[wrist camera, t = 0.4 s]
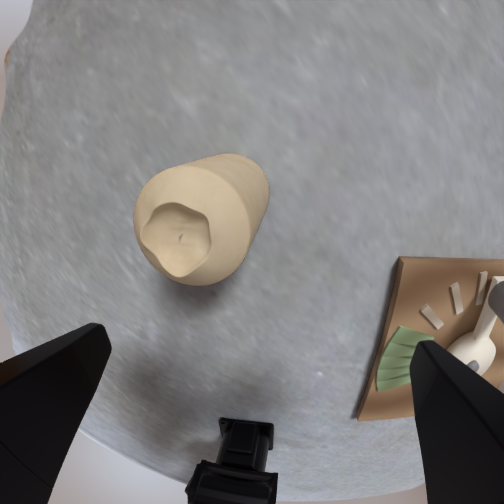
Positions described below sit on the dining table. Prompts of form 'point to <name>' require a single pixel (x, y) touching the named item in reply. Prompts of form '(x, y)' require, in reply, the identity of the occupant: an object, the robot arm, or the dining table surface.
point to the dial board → (428, 326)
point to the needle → (482, 332)
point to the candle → (201, 217)
